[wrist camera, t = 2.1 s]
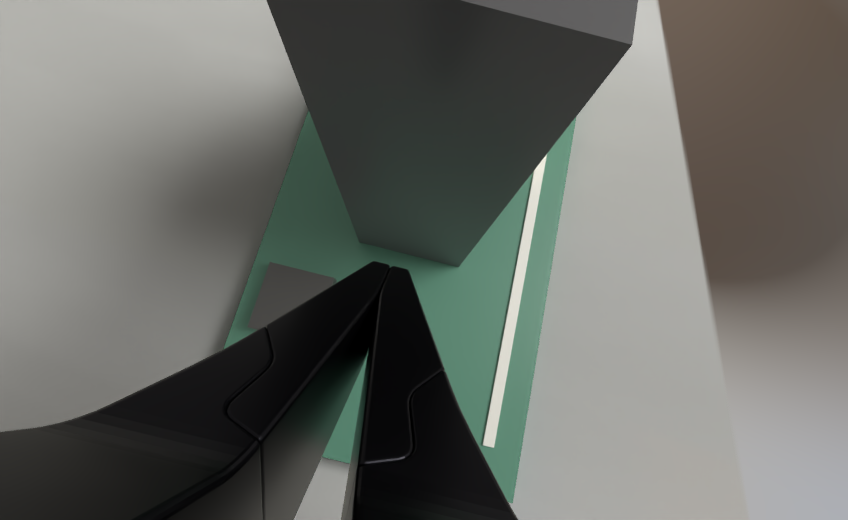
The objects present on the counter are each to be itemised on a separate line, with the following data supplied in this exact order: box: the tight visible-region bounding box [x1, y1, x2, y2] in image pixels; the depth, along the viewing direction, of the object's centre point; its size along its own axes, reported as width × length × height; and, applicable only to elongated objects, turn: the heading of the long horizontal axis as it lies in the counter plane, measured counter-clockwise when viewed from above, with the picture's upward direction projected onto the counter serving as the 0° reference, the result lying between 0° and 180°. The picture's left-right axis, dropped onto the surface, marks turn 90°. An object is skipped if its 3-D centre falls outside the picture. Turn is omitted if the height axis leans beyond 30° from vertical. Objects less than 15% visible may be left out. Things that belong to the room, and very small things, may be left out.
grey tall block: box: [267, 0, 638, 267], centre depth 12 cm, size 8×5×15 cm, turn 166°
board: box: [224, 110, 576, 503], centre depth 17 cm, size 26×14×6 cm, turn 166°
